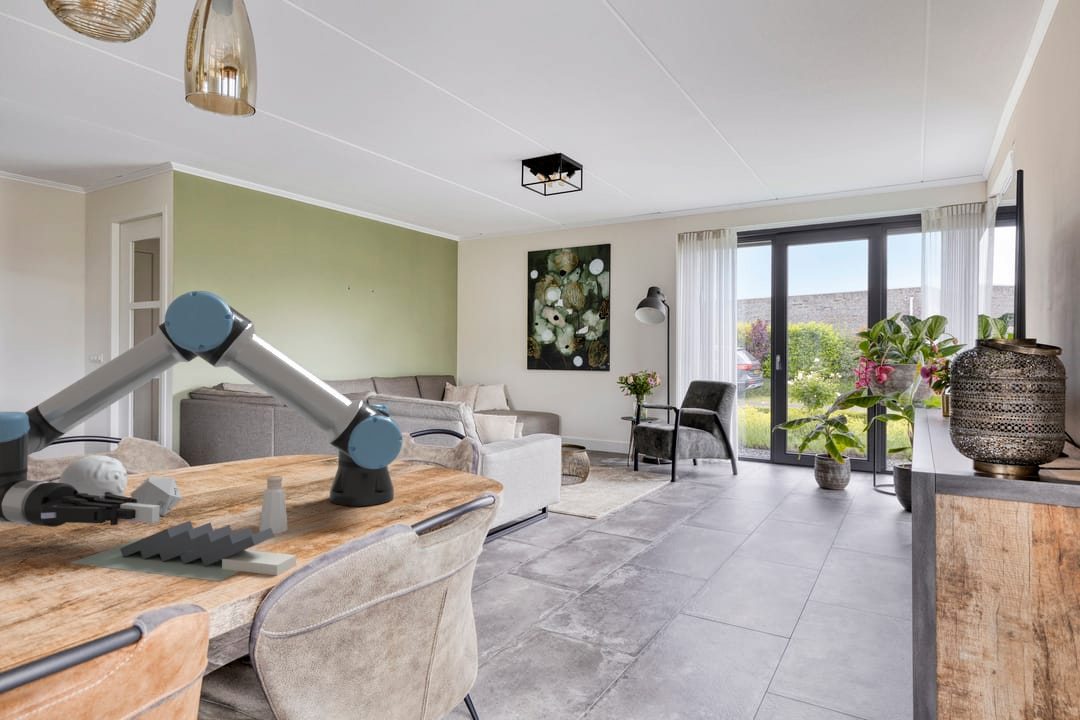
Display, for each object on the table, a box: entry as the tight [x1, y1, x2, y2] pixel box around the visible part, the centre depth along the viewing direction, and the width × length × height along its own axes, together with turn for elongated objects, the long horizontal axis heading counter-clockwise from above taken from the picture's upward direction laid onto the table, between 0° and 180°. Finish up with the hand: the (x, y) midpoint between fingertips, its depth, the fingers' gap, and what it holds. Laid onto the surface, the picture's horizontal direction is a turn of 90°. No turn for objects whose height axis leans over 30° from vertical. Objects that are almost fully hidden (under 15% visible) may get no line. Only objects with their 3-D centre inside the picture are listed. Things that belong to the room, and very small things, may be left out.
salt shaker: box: [258, 475, 288, 535], centre depth 120 cm, size 5×5×11 cm
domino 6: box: [222, 549, 297, 576], centre depth 99 cm, size 2×5×10 cm
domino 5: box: [201, 528, 275, 566], centre depth 100 cm, size 2×5×10 cm
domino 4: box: [180, 525, 254, 564], centre depth 101 cm, size 2×5×10 cm
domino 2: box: [140, 522, 214, 559], centre depth 103 cm, size 2×5×10 cm
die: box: [130, 476, 183, 517], centre depth 131 cm, size 8×9×10 cm
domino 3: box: [159, 524, 233, 562], centre depth 102 cm, size 2×5×10 cm
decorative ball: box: [58, 454, 128, 497], centre depth 131 cm, size 12×12×12 cm
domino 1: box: [120, 520, 194, 557], centre depth 103 cm, size 2×5×10 cm
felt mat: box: [70, 537, 277, 582], centre depth 103 cm, size 28×14×1 cm, turn 78°
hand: (155, 514), depth 103 cm, fingers closed
